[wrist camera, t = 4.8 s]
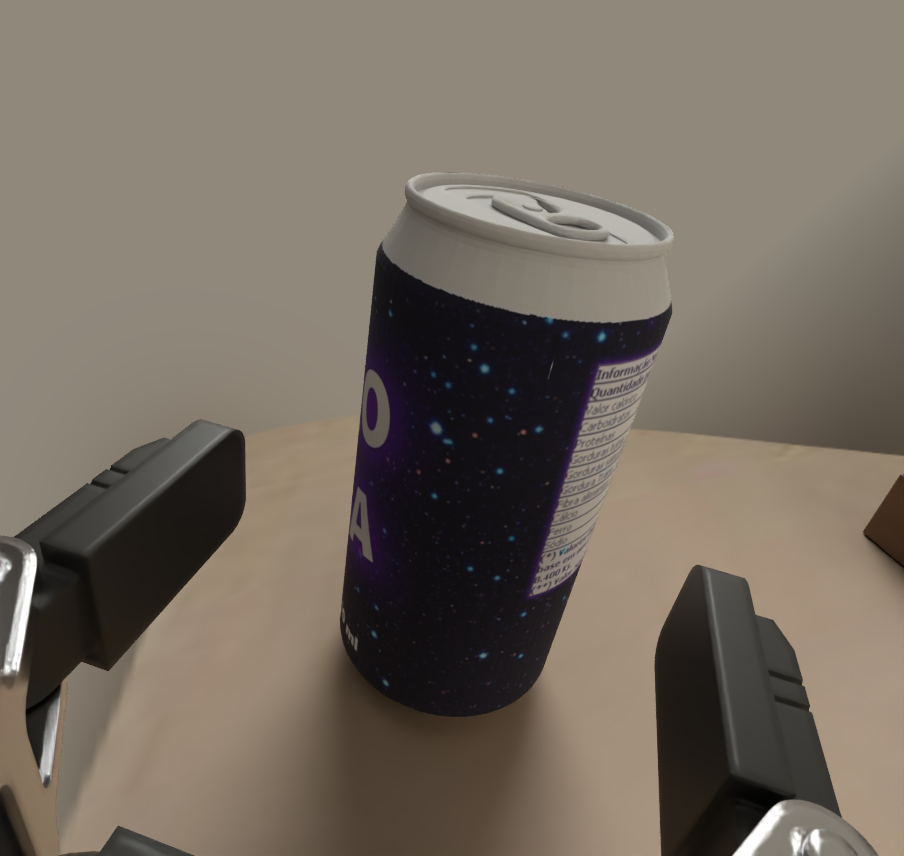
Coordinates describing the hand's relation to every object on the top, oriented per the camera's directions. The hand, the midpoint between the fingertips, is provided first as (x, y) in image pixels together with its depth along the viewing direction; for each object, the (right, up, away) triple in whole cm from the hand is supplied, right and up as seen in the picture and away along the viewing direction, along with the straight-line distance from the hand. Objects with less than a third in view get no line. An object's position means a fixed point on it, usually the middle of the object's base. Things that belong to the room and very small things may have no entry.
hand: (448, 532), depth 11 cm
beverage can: (0, -4, +7) cm, 8 cm away
